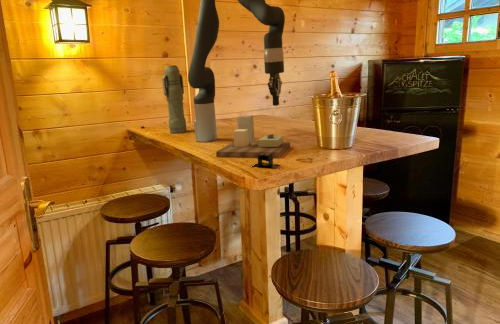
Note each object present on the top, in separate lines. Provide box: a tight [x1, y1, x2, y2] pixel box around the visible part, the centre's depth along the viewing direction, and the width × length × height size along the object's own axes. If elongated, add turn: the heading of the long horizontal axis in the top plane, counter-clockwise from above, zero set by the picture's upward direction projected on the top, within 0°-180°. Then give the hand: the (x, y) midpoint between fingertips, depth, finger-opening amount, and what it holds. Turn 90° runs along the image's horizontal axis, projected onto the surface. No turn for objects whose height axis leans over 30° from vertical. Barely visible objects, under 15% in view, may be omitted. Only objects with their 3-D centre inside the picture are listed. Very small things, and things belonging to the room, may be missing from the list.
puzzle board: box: [215, 141, 291, 159], centre depth 150 cm, size 24×18×2 cm
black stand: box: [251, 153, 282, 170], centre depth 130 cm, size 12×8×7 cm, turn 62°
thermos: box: [161, 64, 187, 135], centre depth 206 cm, size 9×12×35 cm
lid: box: [257, 134, 284, 147], centre depth 149 cm, size 8×8×4 cm
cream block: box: [232, 128, 249, 147], centre depth 153 cm, size 4×4×8 cm
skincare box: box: [236, 115, 256, 142], centre depth 167 cm, size 6×4×12 cm
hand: (276, 105), depth 155 cm, fingers closed
